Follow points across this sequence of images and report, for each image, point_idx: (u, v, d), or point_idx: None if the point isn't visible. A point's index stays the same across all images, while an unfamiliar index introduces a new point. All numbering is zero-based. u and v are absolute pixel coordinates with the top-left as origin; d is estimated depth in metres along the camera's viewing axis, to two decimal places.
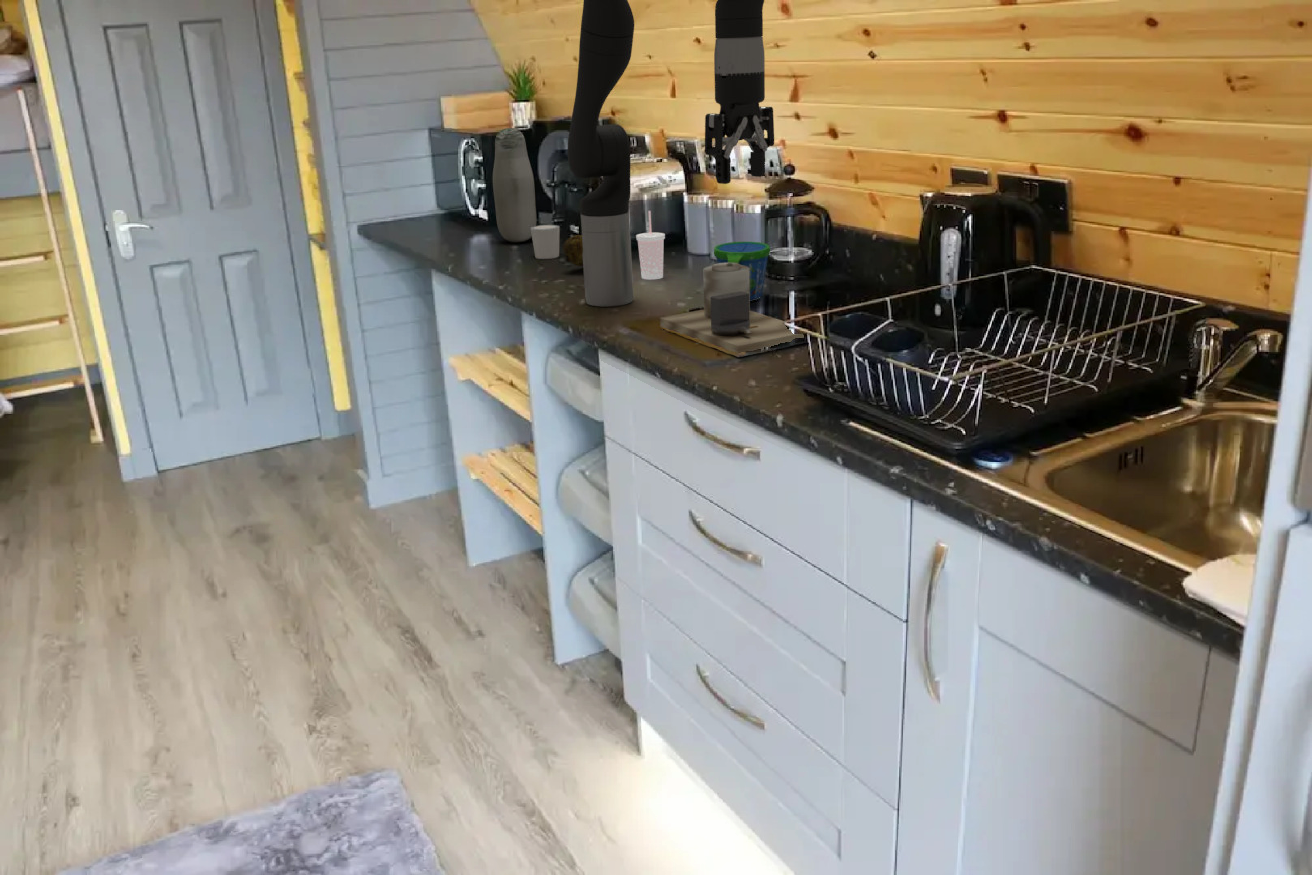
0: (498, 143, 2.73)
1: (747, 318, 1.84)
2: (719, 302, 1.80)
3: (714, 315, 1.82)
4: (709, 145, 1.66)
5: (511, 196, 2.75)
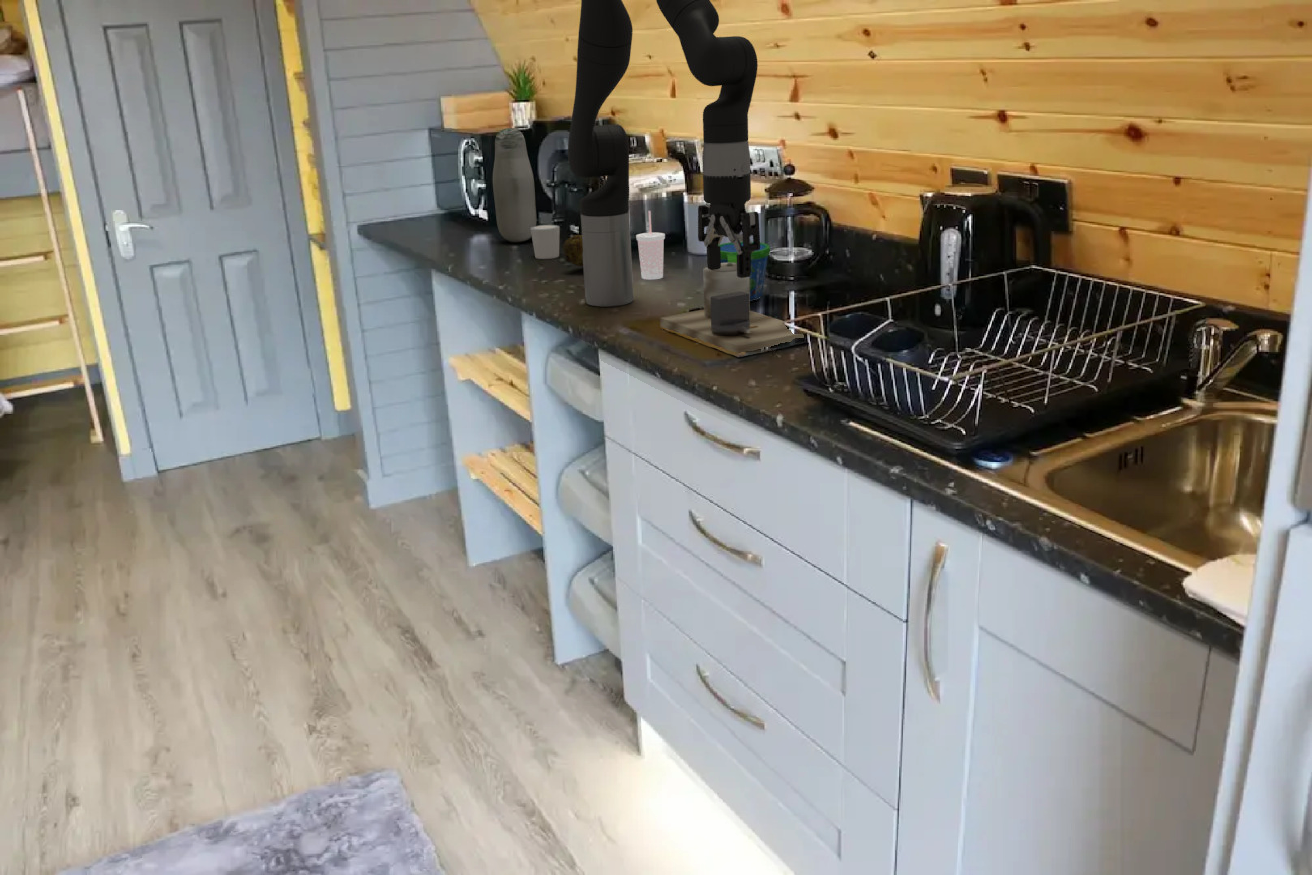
0: (498, 143, 2.73)
1: (747, 318, 1.84)
2: (719, 302, 1.80)
3: (714, 315, 1.82)
4: None
5: (511, 196, 2.75)
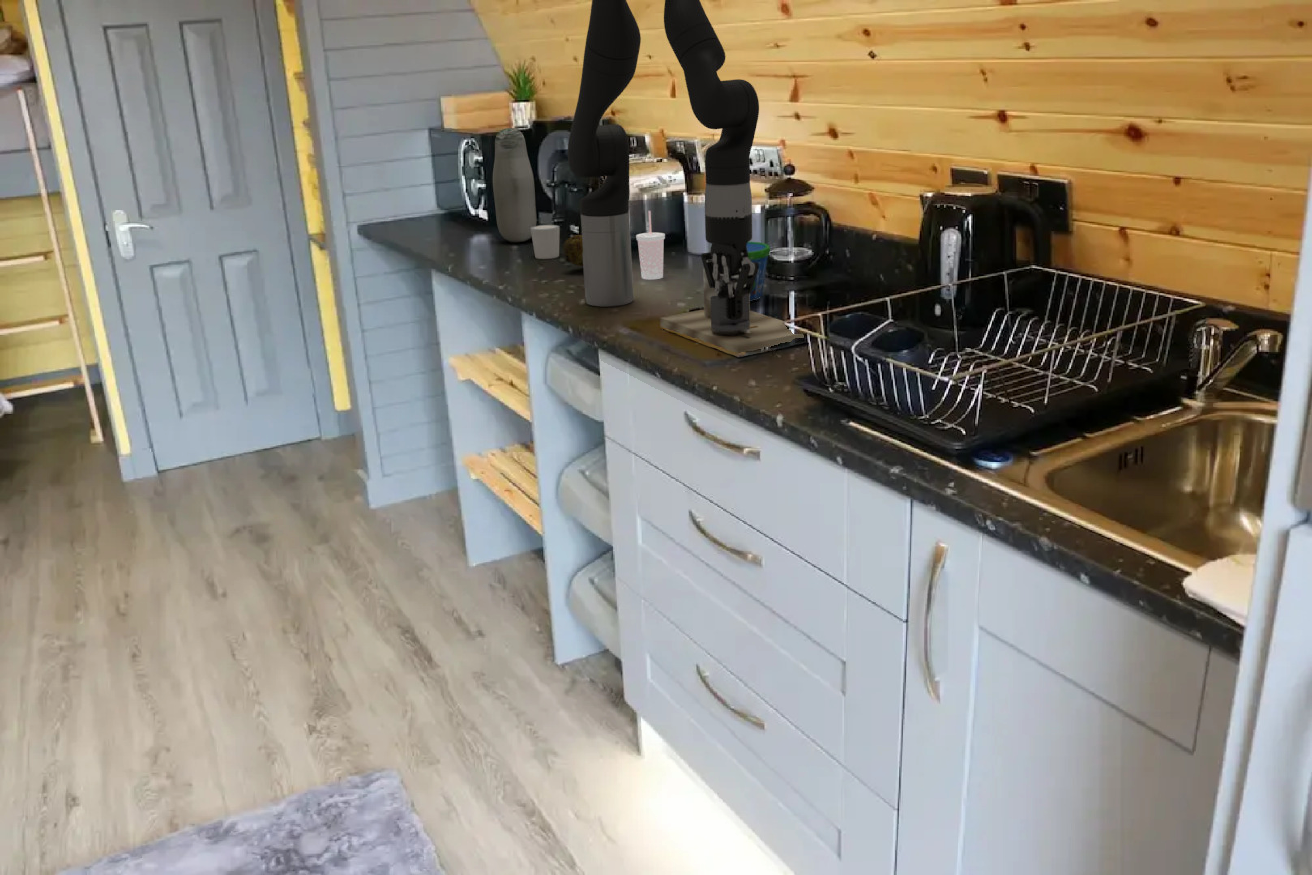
0: (498, 143, 2.72)
1: (747, 318, 1.84)
2: (719, 302, 1.80)
3: (714, 315, 1.82)
4: None
5: (511, 196, 2.75)
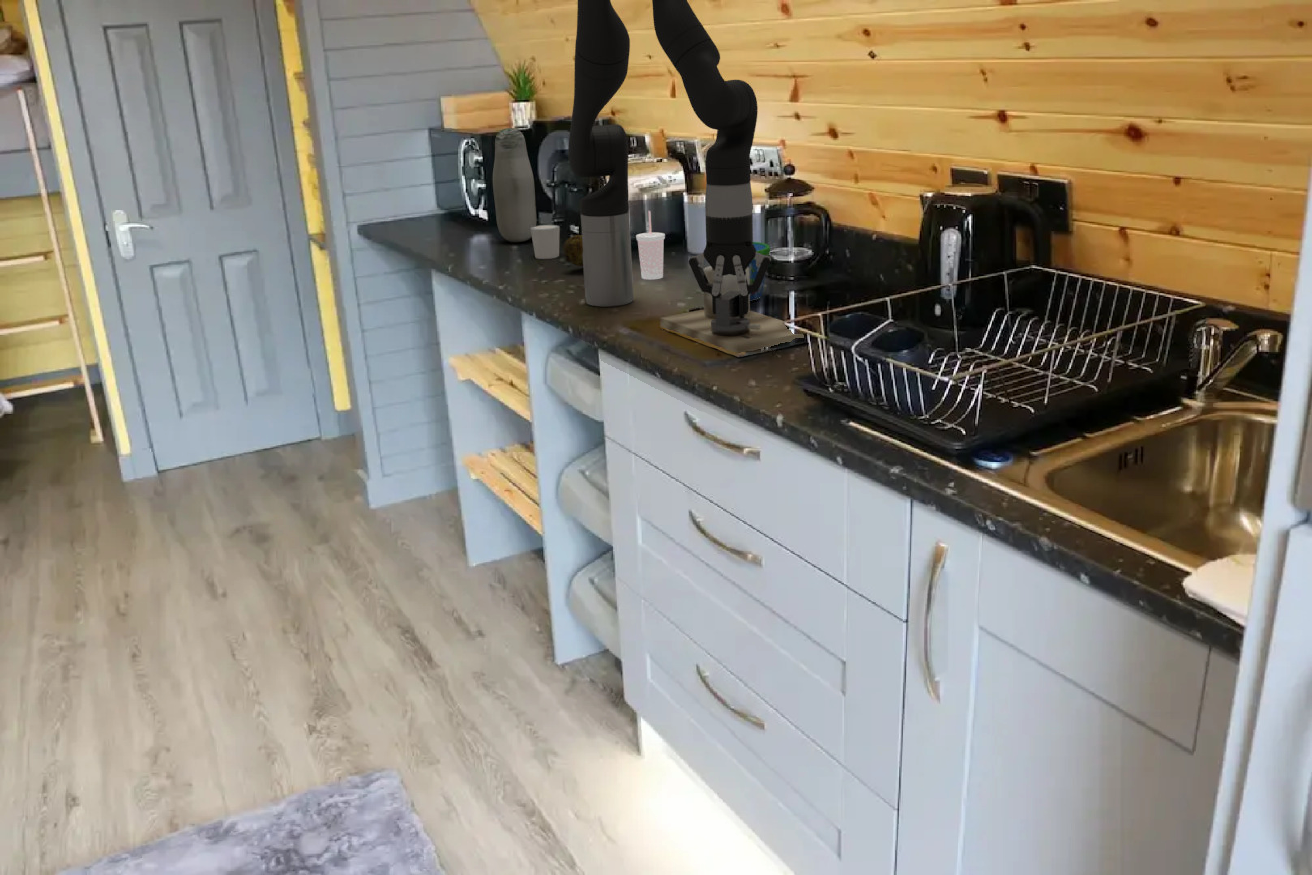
0: (498, 143, 2.72)
1: None
2: (729, 302, 1.79)
3: (721, 317, 1.81)
4: None
5: (511, 196, 2.75)
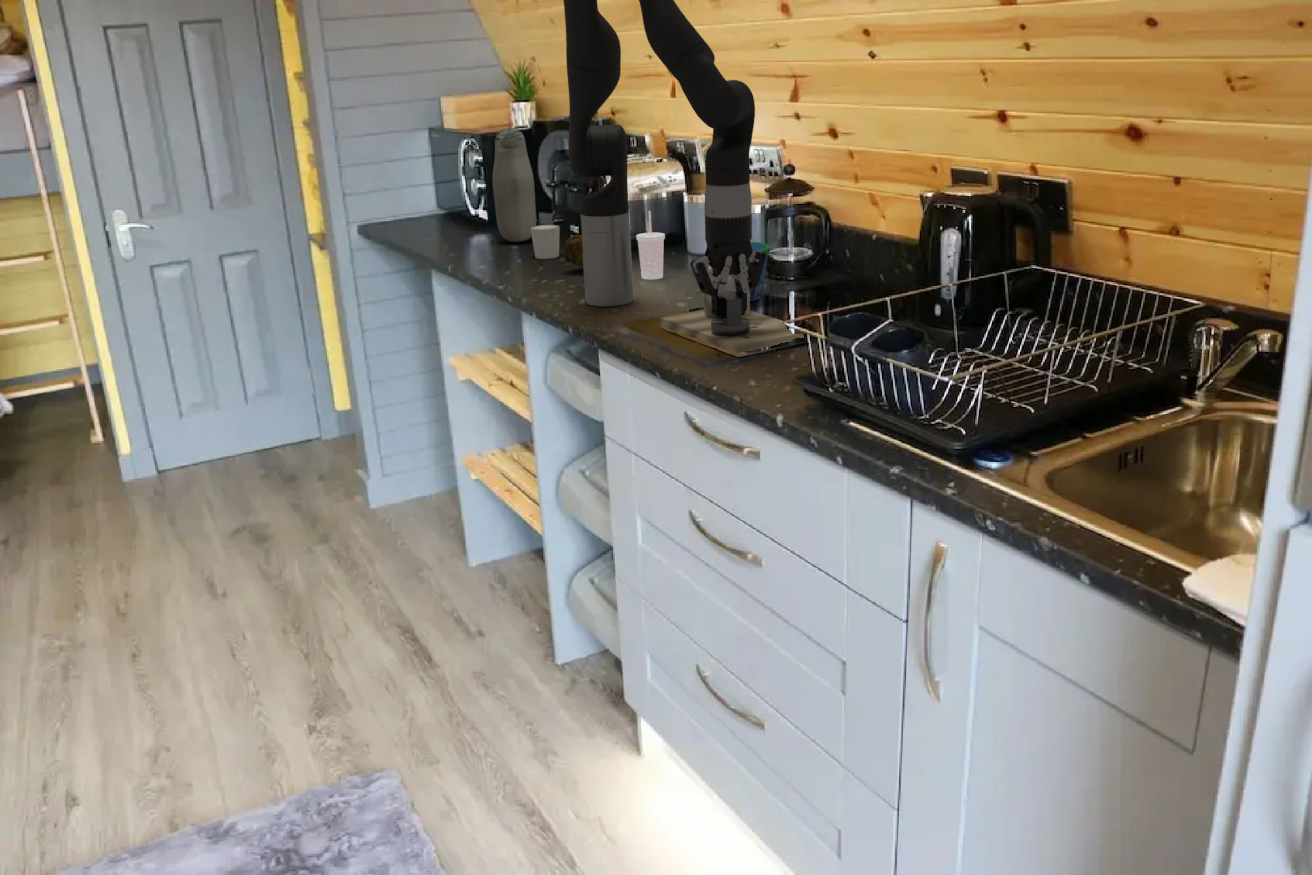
0: (498, 143, 2.72)
1: None
2: None
3: (733, 317, 1.80)
4: None
5: (511, 196, 2.75)
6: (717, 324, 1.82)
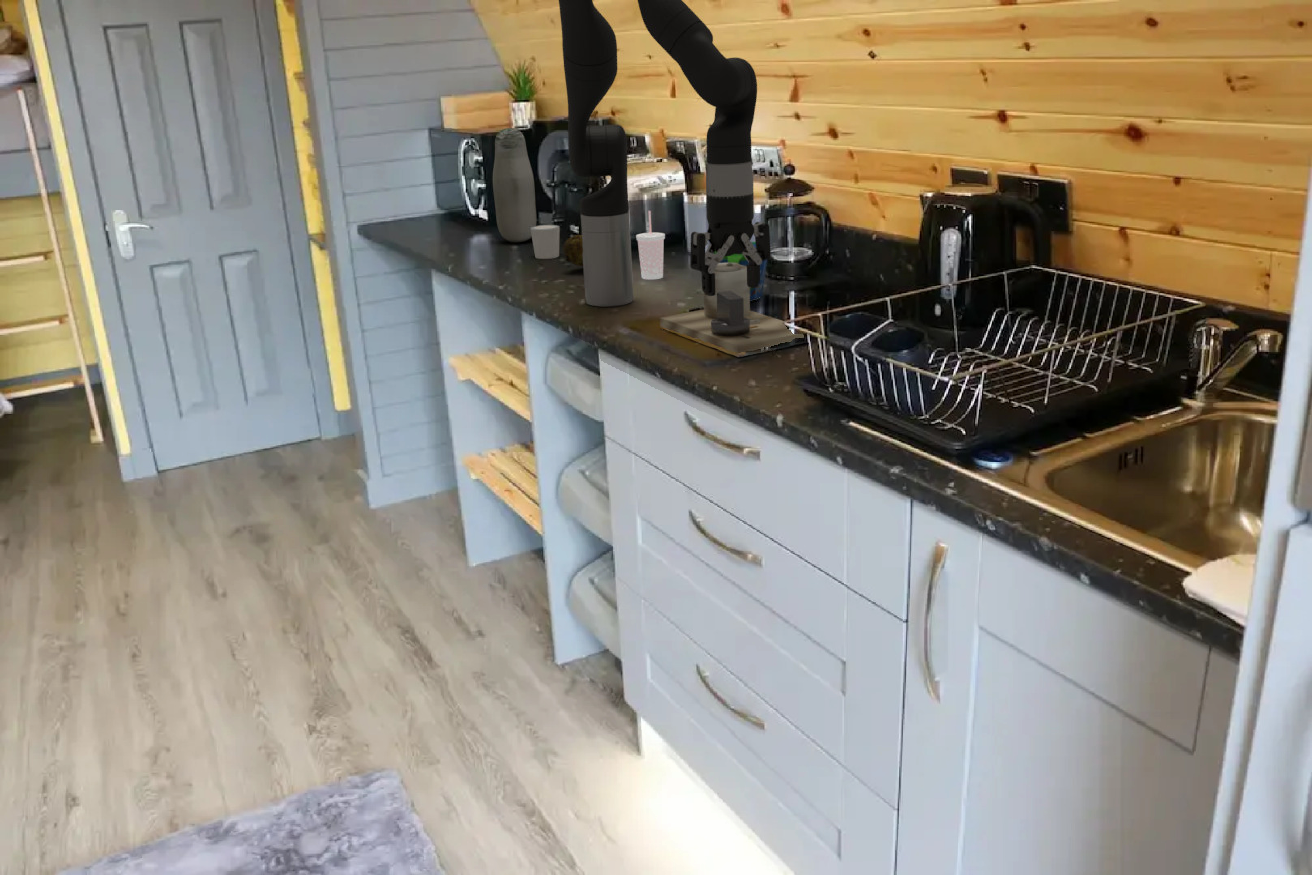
0: (498, 143, 2.72)
1: None
2: None
3: (735, 316, 1.80)
4: None
5: (511, 196, 2.75)
6: (719, 324, 1.82)
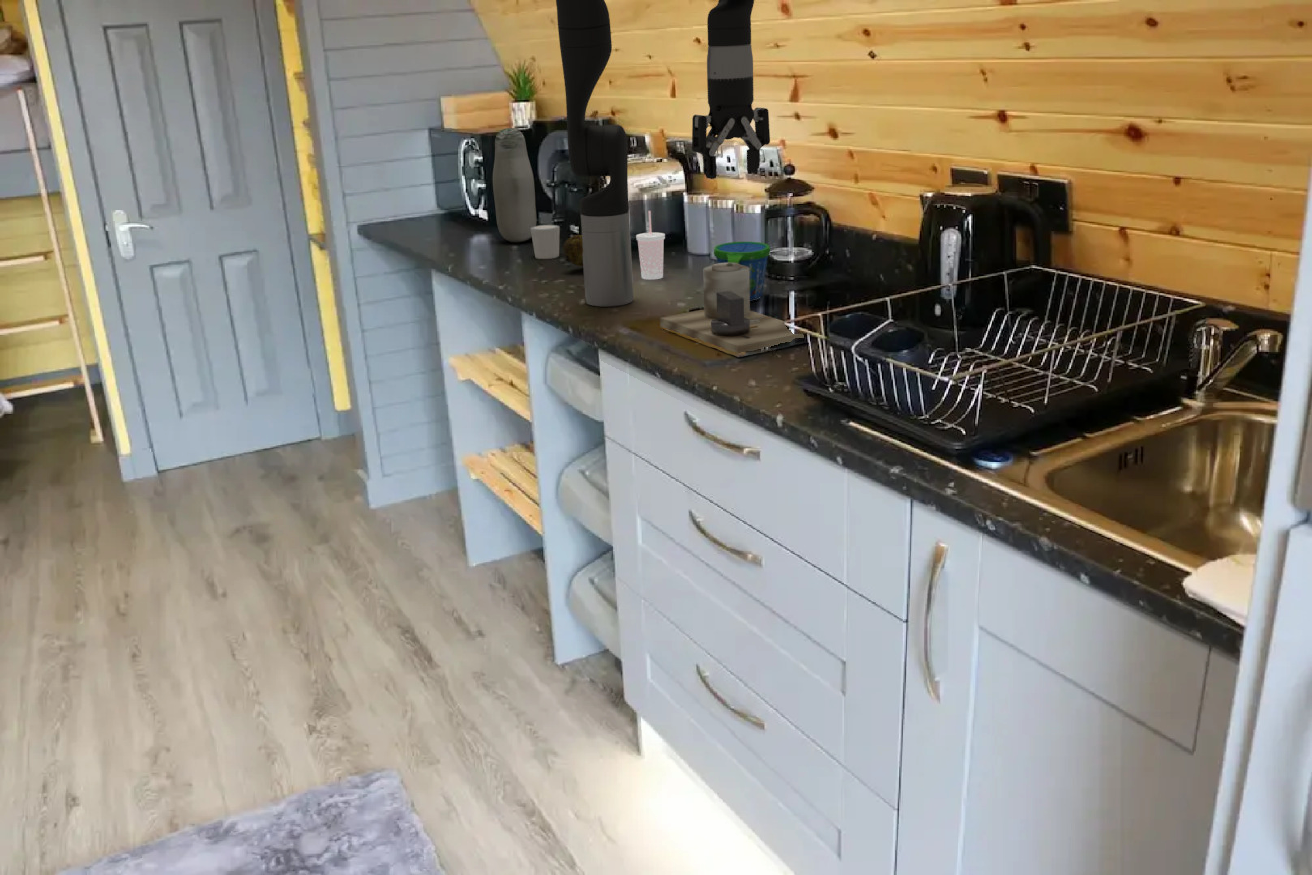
0: (498, 143, 2.72)
1: None
2: (743, 301, 1.80)
3: (736, 316, 1.80)
4: None
5: (511, 196, 2.75)
6: (719, 324, 1.82)
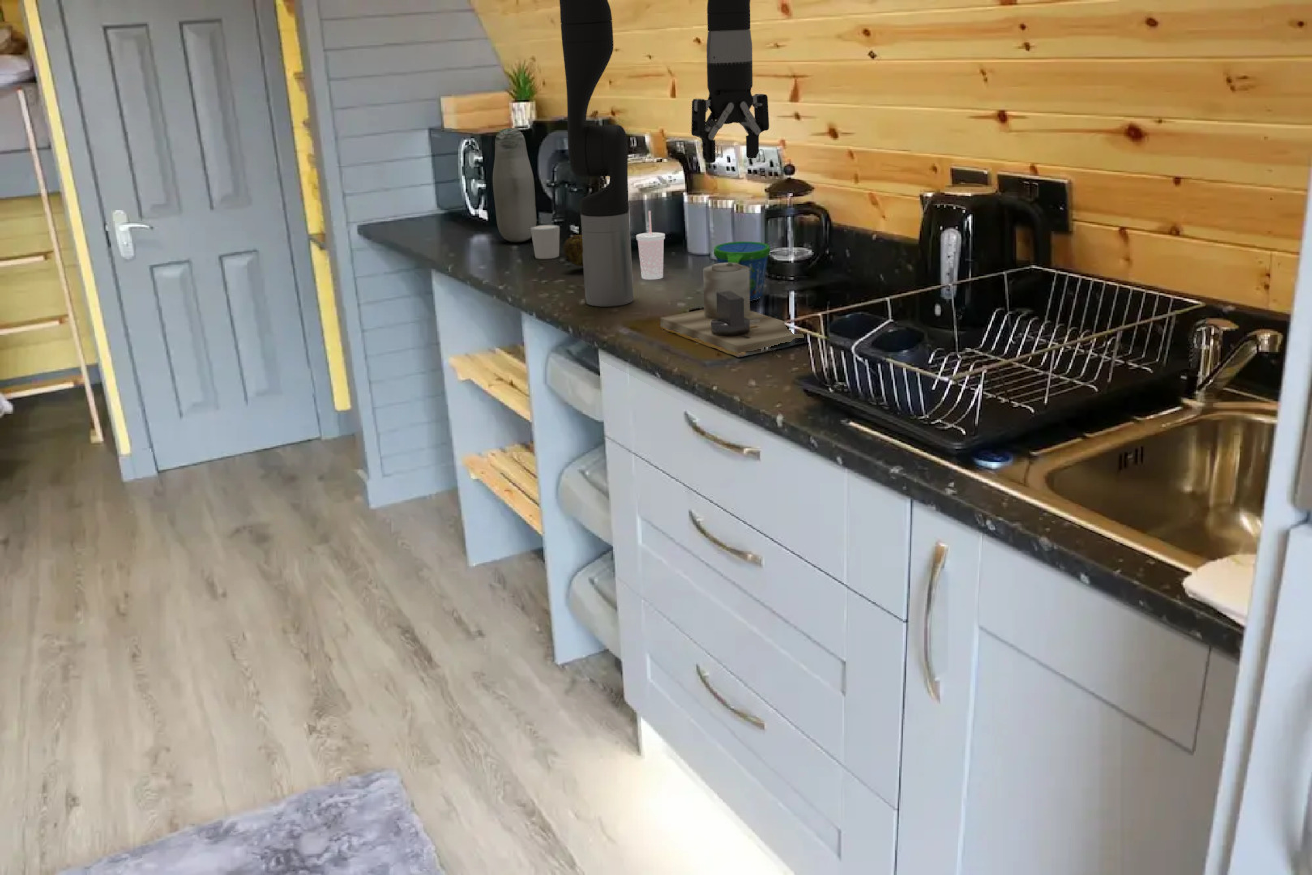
0: (498, 143, 2.72)
1: None
2: (743, 301, 1.80)
3: (736, 316, 1.80)
4: None
5: (511, 196, 2.75)
6: (719, 324, 1.82)
